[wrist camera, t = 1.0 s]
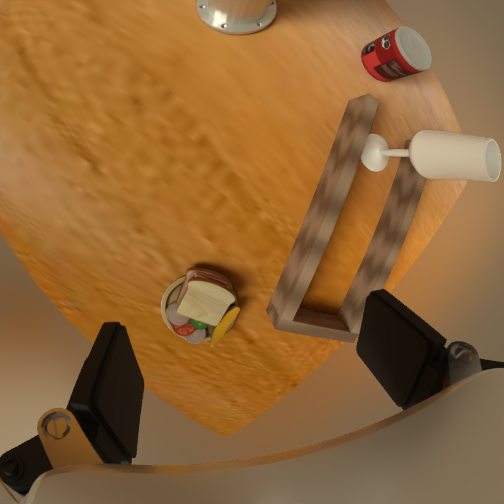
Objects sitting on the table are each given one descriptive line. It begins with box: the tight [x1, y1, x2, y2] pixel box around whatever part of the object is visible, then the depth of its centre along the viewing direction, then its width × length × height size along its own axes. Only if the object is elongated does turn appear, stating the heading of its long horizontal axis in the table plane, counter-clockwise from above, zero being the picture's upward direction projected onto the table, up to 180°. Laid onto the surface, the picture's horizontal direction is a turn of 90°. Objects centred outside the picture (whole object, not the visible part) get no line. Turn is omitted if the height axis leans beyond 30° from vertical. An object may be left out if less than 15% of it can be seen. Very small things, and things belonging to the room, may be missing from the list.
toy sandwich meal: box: [161, 267, 240, 348], centre depth 41 cm, size 12×14×5 cm
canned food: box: [361, 26, 432, 82], centre depth 31 cm, size 8×8×11 cm
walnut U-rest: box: [266, 94, 426, 343], centre depth 41 cm, size 38×16×6 cm, turn 159°
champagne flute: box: [361, 130, 501, 182], centre depth 30 cm, size 7×7×24 cm
